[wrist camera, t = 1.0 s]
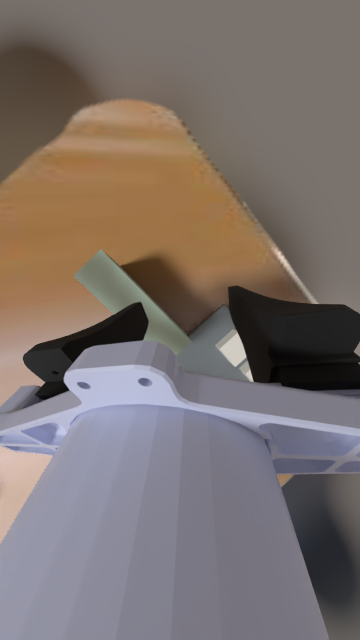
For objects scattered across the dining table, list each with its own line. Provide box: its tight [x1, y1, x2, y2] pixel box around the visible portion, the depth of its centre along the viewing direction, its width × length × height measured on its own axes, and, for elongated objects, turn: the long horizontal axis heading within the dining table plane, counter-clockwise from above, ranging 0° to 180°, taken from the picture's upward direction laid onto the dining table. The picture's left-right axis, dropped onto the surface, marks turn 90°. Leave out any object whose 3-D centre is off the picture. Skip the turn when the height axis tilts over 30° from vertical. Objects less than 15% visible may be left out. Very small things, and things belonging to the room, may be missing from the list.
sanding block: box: [74, 250, 191, 356], centre depth 20 cm, size 4×14×7 cm, turn 44°
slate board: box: [176, 305, 249, 381], centre depth 25 cm, size 12×18×1 cm, turn 42°
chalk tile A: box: [239, 360, 253, 382], centre depth 24 cm, size 4×4×2 cm
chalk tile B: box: [215, 329, 246, 367], centre depth 23 cm, size 4×4×2 cm
